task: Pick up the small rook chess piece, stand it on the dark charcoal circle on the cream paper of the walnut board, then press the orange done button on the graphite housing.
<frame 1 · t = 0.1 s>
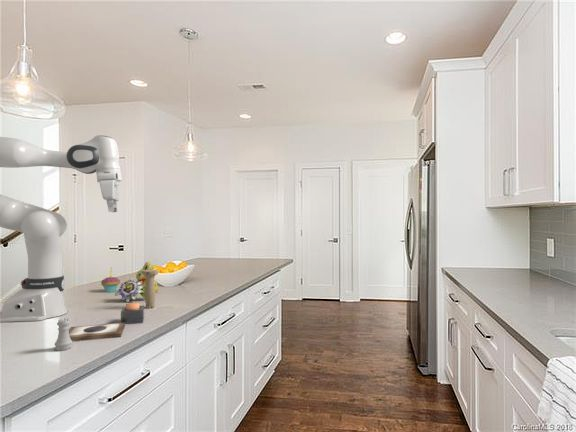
hand: (113, 211, 149), 39 cm above the worktop, tool pointing down, fingers open, 8 cm apart
yellow green figurine: (146, 293, 184), on the worktop
passion flower: (132, 300, 166), on the worktop
done button: (132, 308, 132), point 4 cm above the worktop, slide at 0.0 cm
handle: (150, 308, 153), on the worktop
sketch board: (95, 333, 118), on the worktop
button housing: (132, 321, 132), on the worktop
rook chess piece: (63, 349, 104), on the worktop
cupcake: (110, 291, 187), on the worktop
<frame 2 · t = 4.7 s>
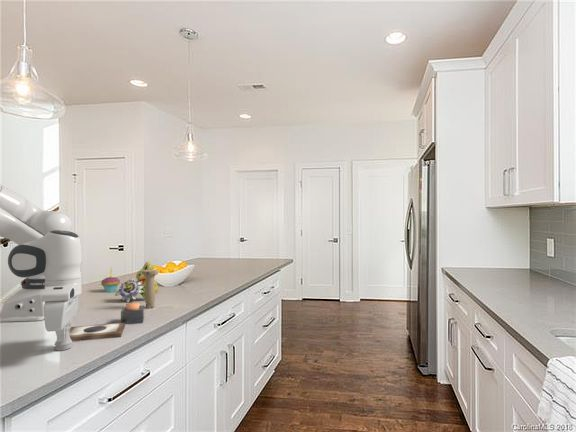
hand: (63, 338, 104), 3 cm above the worktop, tool pointing down, fingers closed on rook chess piece, 3 cm apart
rook chess piece: (63, 349, 104), on the worktop, touching gripper
everything else where it was.
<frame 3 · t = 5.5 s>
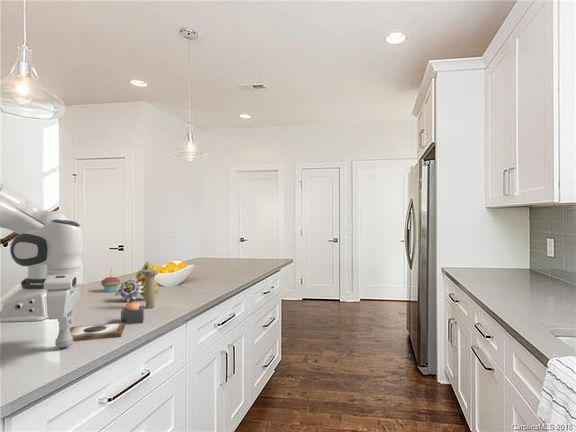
hand: (65, 327, 105), 6 cm above the worktop, tool pointing down, fingers closed on rook chess piece, 3 cm apart
rook chess piece: (64, 345, 105), point 1 cm above the worktop, touching gripper
everything else where it was.
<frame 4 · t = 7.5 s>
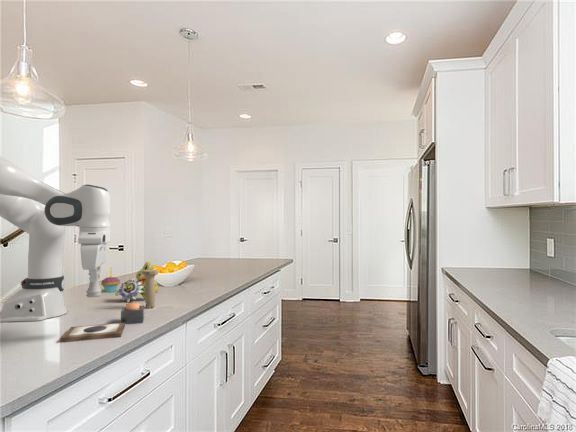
hand: (95, 280, 118), 17 cm above the worktop, tool pointing down, fingers closed on rook chess piece, 3 cm apart
rook chess piece: (94, 296, 118), point 12 cm above the worktop, touching gripper
everything else where it was.
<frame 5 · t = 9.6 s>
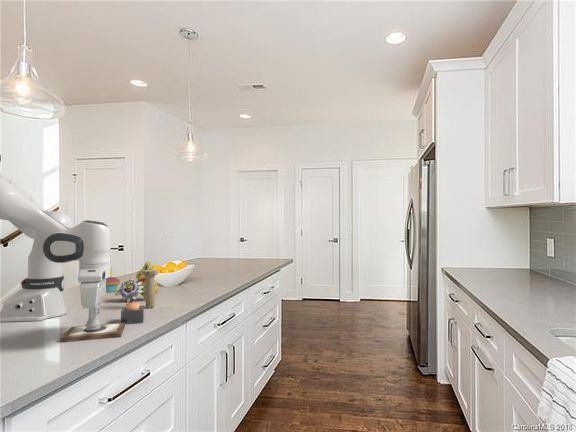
hand: (94, 316, 118), 5 cm above the worktop, tool pointing down, fingers closed on rook chess piece, 3 cm apart
rook chess piece: (93, 329, 117), point 1 cm above the worktop, touching gripper, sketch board
everything else where it was.
when the fingers open (5 cm above the worktop, at t = 9.7 s): rook chess piece stays where it is, resting on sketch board.
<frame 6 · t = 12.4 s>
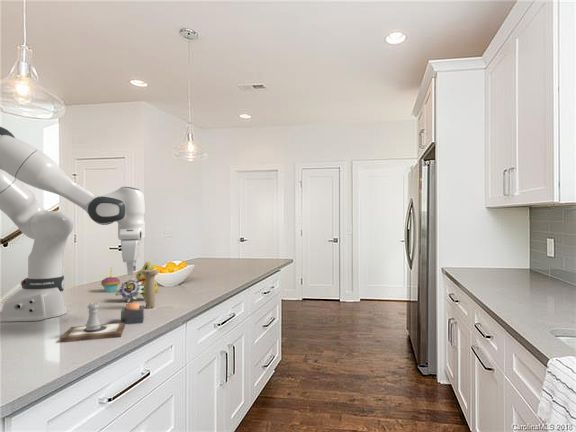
hand: (131, 272, 132), 17 cm above the worktop, tool pointing down, fingers open, 8 cm apart
rook chess piece: (93, 329, 117), point 1 cm above the worktop, touching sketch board
everything else where it was.
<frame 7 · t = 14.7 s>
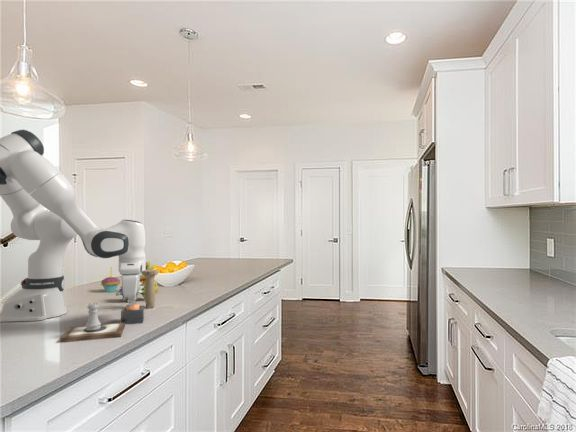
hand: (132, 305, 132), 6 cm above the worktop, tool pointing down, fingers closed, pressing on done button
done button: (132, 309, 132), point 4 cm above the worktop, slide at 0.4 cm, touching gripper
everything else where it was.
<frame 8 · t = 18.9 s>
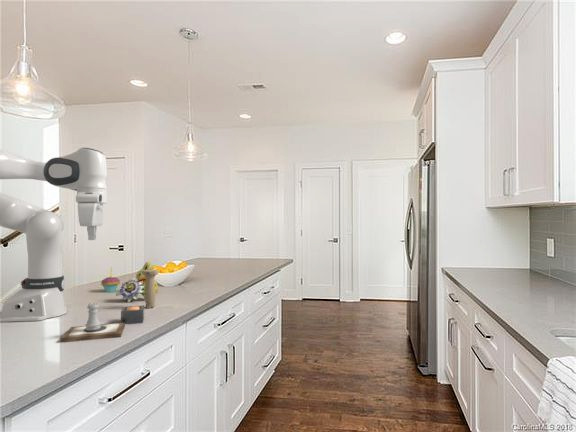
hand: (92, 240, 123), 29 cm above the worktop, tool pointing down, fingers closed
done button: (132, 312, 132), point 3 cm above the worktop, slide at 1.3 cm
everything else where it was.
at the end: rook chess piece 0.6 cm off-centre on the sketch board, point 1.3 cm above the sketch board's base; rook chess piece tilted 0°; done button slide at 1.3 cm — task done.
